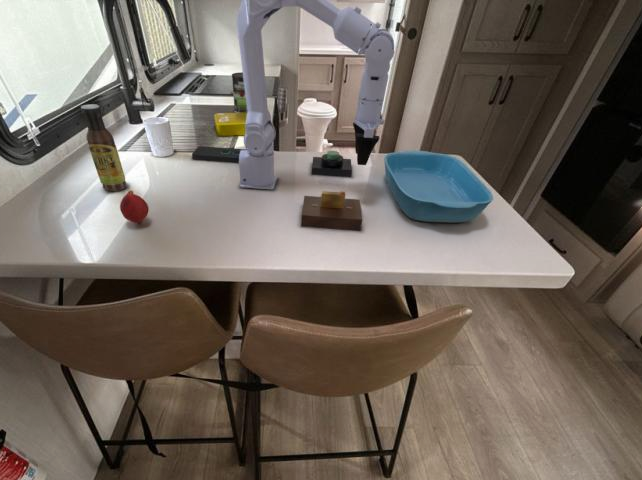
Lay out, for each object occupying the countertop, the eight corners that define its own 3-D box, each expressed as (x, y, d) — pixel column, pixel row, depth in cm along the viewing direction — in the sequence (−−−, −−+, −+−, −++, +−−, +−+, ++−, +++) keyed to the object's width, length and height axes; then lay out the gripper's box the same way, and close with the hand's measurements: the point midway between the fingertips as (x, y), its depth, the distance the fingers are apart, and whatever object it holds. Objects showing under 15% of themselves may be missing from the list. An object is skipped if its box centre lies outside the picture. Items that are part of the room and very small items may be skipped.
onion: (137, 232, 75) (126, 199, 69) (120, 224, 77) (108, 192, 72) (157, 221, 79) (148, 189, 73) (140, 214, 81) (130, 182, 75)
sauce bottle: (100, 192, 88) (68, 109, 75) (108, 182, 93) (79, 102, 79) (124, 192, 89) (97, 109, 75) (131, 182, 93) (106, 102, 80)
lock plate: (300, 226, 79) (301, 214, 76) (303, 206, 86) (304, 194, 84) (360, 230, 78) (362, 218, 76) (357, 210, 85) (359, 198, 83)
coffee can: (254, 115, 146) (252, 77, 136) (231, 113, 147) (228, 76, 137) (259, 109, 153) (258, 73, 144) (238, 107, 154) (235, 71, 145)
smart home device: (252, 158, 104) (191, 154, 106) (252, 164, 106) (191, 159, 107) (257, 149, 110) (199, 145, 112) (257, 154, 112) (199, 150, 113)
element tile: (256, 135, 126) (256, 121, 123) (217, 136, 124) (215, 122, 120) (251, 123, 137) (250, 110, 134) (214, 124, 134) (213, 111, 131)
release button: (326, 160, 100) (327, 154, 99) (326, 156, 103) (327, 150, 101) (338, 161, 100) (339, 155, 99) (338, 156, 102) (339, 151, 101)
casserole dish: (373, 170, 104) (378, 146, 100) (444, 172, 105) (452, 149, 100) (400, 232, 78) (408, 204, 73) (494, 236, 78) (509, 208, 73)
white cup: (180, 152, 111) (174, 119, 104) (162, 159, 106) (154, 125, 100) (164, 147, 114) (157, 115, 107) (145, 154, 109) (137, 121, 102)
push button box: (311, 174, 101) (312, 161, 98) (312, 163, 107) (313, 150, 104) (350, 177, 100) (353, 164, 97) (349, 166, 107) (351, 153, 104)
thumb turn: (320, 207, 79) (322, 192, 77) (320, 204, 80) (322, 189, 78) (343, 208, 79) (345, 194, 77) (343, 206, 80) (345, 191, 78)
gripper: (393, 107, 70) (379, 170, 79) (384, 92, 81) (373, 149, 90) (359, 105, 70) (349, 169, 80) (355, 90, 81) (347, 148, 90)
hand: (360, 158), depth 85 cm, fingers open, 7 cm apart
